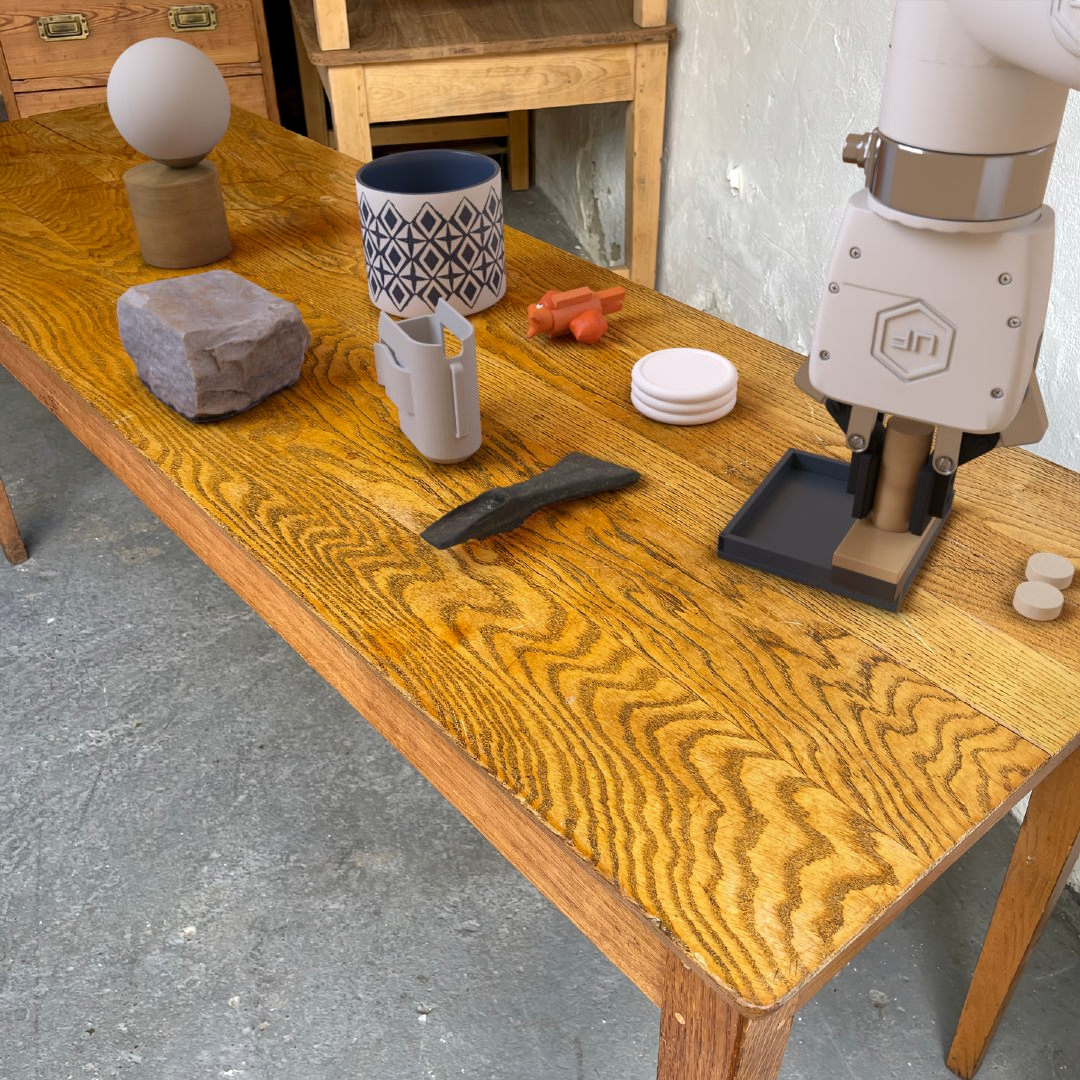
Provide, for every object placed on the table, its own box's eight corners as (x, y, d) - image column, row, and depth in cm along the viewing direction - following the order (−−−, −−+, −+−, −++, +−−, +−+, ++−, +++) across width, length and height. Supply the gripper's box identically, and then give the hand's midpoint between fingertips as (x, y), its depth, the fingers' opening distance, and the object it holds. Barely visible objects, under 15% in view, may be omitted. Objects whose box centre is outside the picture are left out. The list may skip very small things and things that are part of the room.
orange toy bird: (612, 264, 119) (516, 289, 115) (649, 307, 116) (551, 334, 111) (604, 301, 123) (510, 326, 119) (639, 343, 120) (544, 371, 115)
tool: (579, 465, 100) (579, 433, 98) (646, 489, 95) (647, 456, 93) (401, 546, 86) (398, 510, 85) (468, 579, 82) (466, 542, 80)
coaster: (659, 436, 101) (661, 402, 99) (613, 389, 108) (614, 357, 106) (755, 414, 104) (758, 380, 102) (704, 370, 111) (706, 338, 109)
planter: (527, 307, 125) (522, 180, 117) (392, 334, 120) (377, 203, 112) (479, 260, 137) (471, 141, 129) (354, 282, 132) (338, 161, 124)
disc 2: (1063, 601, 80) (1068, 588, 79) (1055, 626, 78) (1059, 613, 77) (1017, 588, 81) (1021, 575, 81) (1008, 612, 79) (1011, 599, 78)
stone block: (333, 298, 108) (195, 313, 97) (330, 411, 112) (198, 436, 102) (237, 264, 117) (102, 274, 107) (238, 369, 122) (109, 388, 112)
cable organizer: (442, 405, 107) (431, 287, 100) (497, 463, 98) (490, 338, 91) (377, 422, 104) (362, 303, 97) (428, 483, 95) (415, 357, 88)
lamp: (190, 222, 151) (148, 23, 137) (276, 234, 147) (242, 30, 132) (114, 261, 140) (59, 49, 126) (205, 275, 135) (159, 57, 121)
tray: (951, 511, 90) (956, 489, 89) (896, 613, 79) (900, 590, 78) (787, 467, 96) (789, 446, 95) (716, 557, 86) (718, 535, 84)
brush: (942, 519, 64) (969, 395, 59) (893, 603, 58) (918, 473, 53) (882, 502, 65) (904, 381, 61) (828, 583, 59) (848, 454, 55)
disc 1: (1073, 571, 83) (1077, 558, 82) (1067, 595, 81) (1071, 582, 80) (1028, 560, 84) (1032, 547, 83) (1021, 583, 82) (1025, 570, 81)
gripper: (756, 172, 51) (728, 507, 61) (1140, 228, 43) (1033, 598, 54) (815, 131, 56) (780, 447, 66) (1168, 175, 48) (1065, 522, 59)
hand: (894, 512), depth 60 cm, fingers closed on brush, 2 cm apart
